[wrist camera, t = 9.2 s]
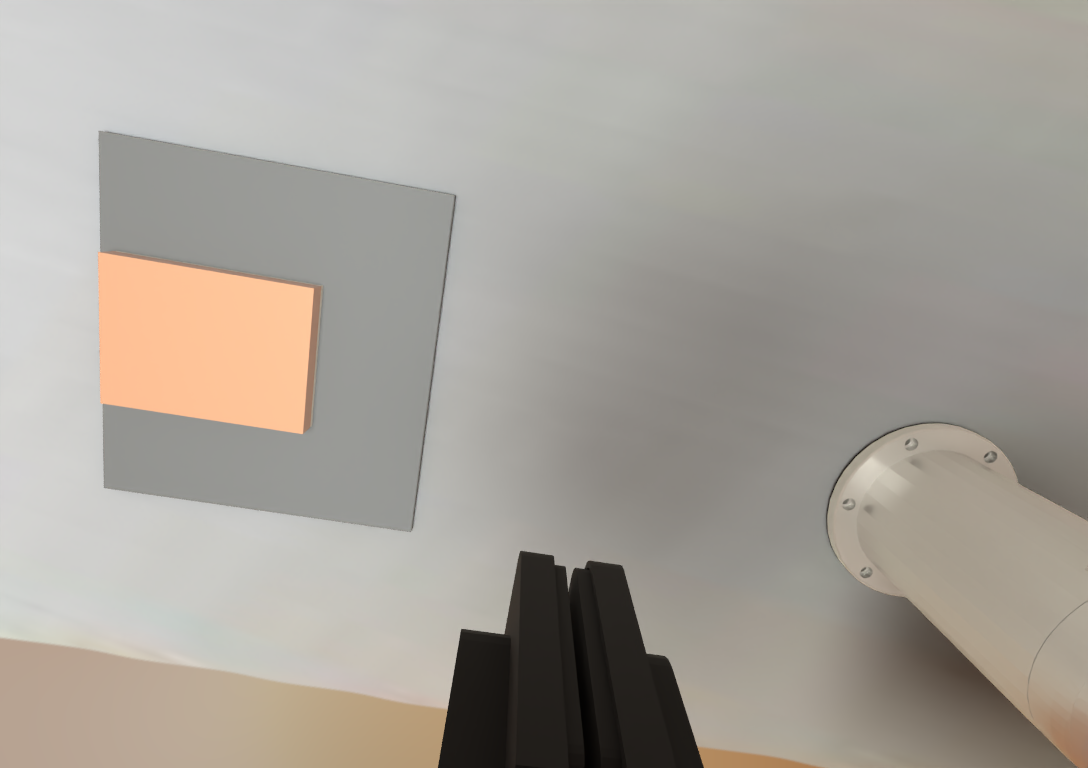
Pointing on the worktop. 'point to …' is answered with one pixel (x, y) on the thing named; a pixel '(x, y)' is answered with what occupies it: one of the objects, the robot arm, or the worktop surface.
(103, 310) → the tile
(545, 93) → the worktop surface
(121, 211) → the slate mat
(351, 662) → the worktop surface
